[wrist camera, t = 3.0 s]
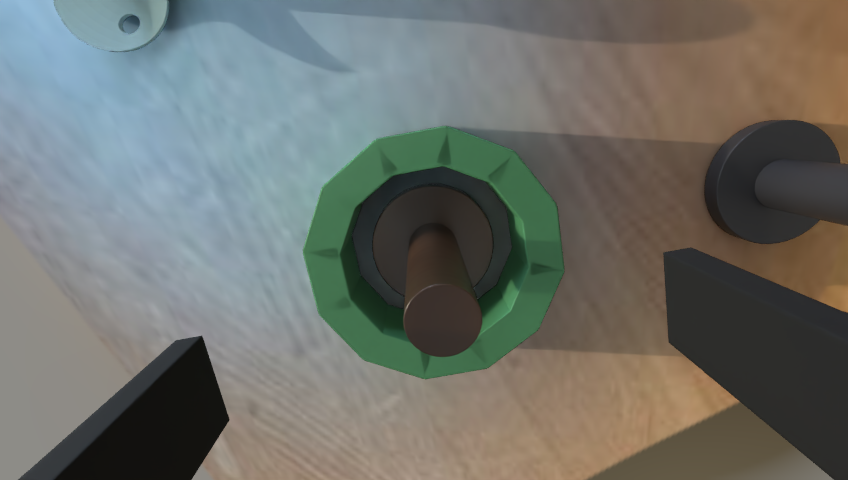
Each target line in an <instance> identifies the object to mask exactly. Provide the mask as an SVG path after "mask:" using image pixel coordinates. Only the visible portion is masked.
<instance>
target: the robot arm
mask: <svg viewBox="0 0 848 480" xmlns="http://www.w3.org/2000/svg"><path fill="white" fill-rule="evenodd" d="M663 255H664V272H665V288H666V305H667V322H668V339H669V343H670V344H671V345H673V346H674V347H675V348H676V349H677V350H679V351H680V352H681V353H682V354H683V355H685V356H686V357H687V358H688V359H689V360H691V361H692V362H693V363H694V364H695V365H697V366H698V367H699V368H700V369H701V370H703V371H704V372H705V373H706V374H707V375H709V376H710V377H711V378H712V379H713V380H715V381H716V382H717V383H718V384H720V385H721V386H722V387H723V388H724V389H726V390H727V391H728V392H729V393H730V394H732V395H733V396H734V397H735V398H736V399H738V400H739V401H740V402H741V403H742V404H744V405H745V406H746V407H747V408H748V409H750V410H751V411H752V412H753V413H754V414H756V415H757V416H758V417H759V418H760V419H762V420H763V421H764V422H765V423H767V424H768V425H769V426H770V427H771V428H773V429H774V430H775V431H776V432H777V433H779V434H780V435H781V436H782V437H783V438H785V439H786V440H787V441H788V442H789V443H791V444H792V445H793V446H794V447H795V448H797V449H798V450H799V451H800V452H801V453H803V454H804V455H805V456H806V457H807V458H809V459H810V460H811V461H813V463H815V464H816V465H817V466H818V467H820V468H821V469H822V470H823V471H824V472H826V473H827V474H828V475H829V476H830V477H832V478H833V479H834V480H848V313H847V312H843V311H840V310H838V309H835V308H833V307H831V306H828V305H826V304H824V303H821V302H819V301H817V300H814V299H812V298H809V297H807V296H805V295H802V294H800V293H798V292H795V291H793V290H790V289H788V288H786V287H783V286H781V285H779V284H776V283H774V282H771V281H769V280H767V279H764V278H762V277H760V276H757V275H755V274H753V273H750V272H748V271H745V270H743V269H741V268H738V267H736V266H734V265H731V264H729V263H726V262H724V261H722V260H719V259H717V258H715V257H712V256H710V255H707V254H705V253H703V252H700V251H698V250H696V249H693V248H685V249H680V250H674V251H669V252H663ZM228 421H229V417H228V414H227V411H226V408H225V405H224V401H223V398H222V395H221V392H220V389H219V386H218V383H217V380H216V377H215V374H214V371H213V368H212V365H211V361H210V358H209V355H208V352H207V349H206V346H205V343H204V340H203V337H202V336H198V337H193V338H187V339H182V340H176V341H175V342H174V343H172V344H171V345H170V346H169V347H168V348H167V349H166V350H165V351H163V352H162V353H161V354H160V355H159V356H158V357H157V358H156V359H154V360H153V361H152V362H151V363H150V364H149V365H148V366H146V367H145V368H144V369H143V370H142V371H141V372H140V373H139V374H137V375H136V376H135V377H134V378H133V379H132V380H131V381H129V382H128V383H127V384H126V385H125V386H124V387H123V388H122V389H120V390H119V391H118V392H117V393H116V394H115V395H114V396H113V397H112V398H110V399H109V400H108V401H107V402H106V403H105V404H103V405H102V406H101V407H100V408H99V409H98V410H97V411H96V412H94V413H93V414H92V415H91V416H90V417H89V418H88V419H87V420H85V421H84V422H83V423H82V424H81V425H80V426H79V427H77V428H76V429H75V430H74V431H73V432H72V433H71V434H69V435H68V436H67V437H66V438H65V439H64V440H63V441H62V442H60V443H59V444H58V445H57V446H56V447H55V448H54V449H53V450H51V451H50V452H49V453H48V454H47V455H46V456H45V457H44V458H42V459H41V460H40V461H39V462H38V463H37V464H36V465H34V466H33V467H32V468H31V469H30V470H29V471H28V472H26V473H25V474H24V475H23V476H22V477H21V478H20V479H19V480H191V479H192V478H193V476H194V475H195V473H196V471H197V470H198V468H199V467H200V465H201V464H202V462H203V461H204V459H205V457H206V456H207V454H208V453H209V451H210V450H211V448H212V446H213V445H214V443H215V442H216V440H217V439H218V437H219V435H220V434H221V432H222V431H223V429H224V428H225V426H226V424H227V423H228Z"/></svg>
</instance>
